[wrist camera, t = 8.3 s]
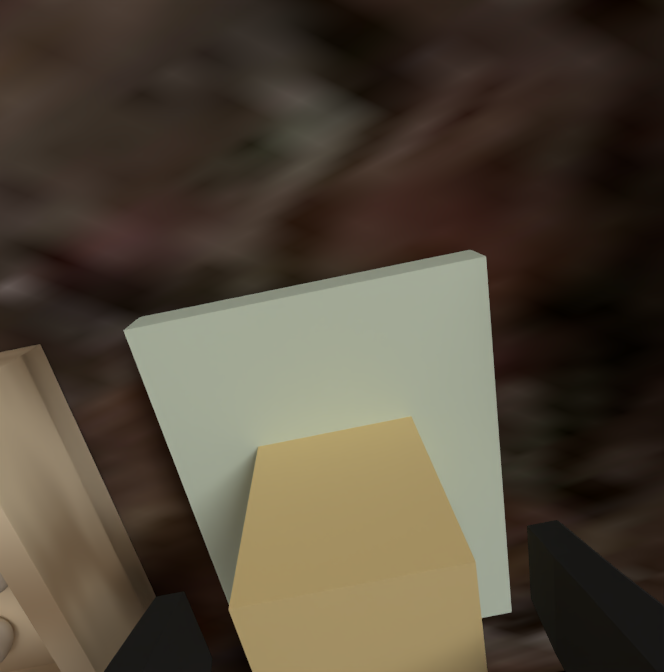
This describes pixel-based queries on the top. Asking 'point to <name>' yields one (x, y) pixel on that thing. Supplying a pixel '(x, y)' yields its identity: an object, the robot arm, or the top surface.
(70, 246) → the top surface
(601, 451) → the top surface
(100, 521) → the box
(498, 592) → the lid
